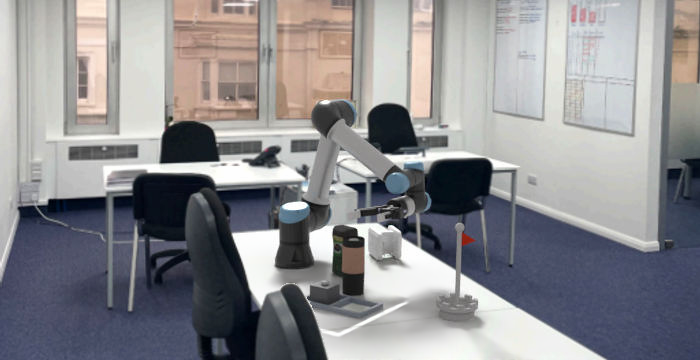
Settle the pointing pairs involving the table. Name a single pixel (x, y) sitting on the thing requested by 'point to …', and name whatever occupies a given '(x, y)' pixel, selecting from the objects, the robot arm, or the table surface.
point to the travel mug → (353, 265)
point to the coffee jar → (340, 245)
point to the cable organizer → (384, 242)
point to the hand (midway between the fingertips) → (362, 217)
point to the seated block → (325, 292)
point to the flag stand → (458, 289)
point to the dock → (349, 306)
